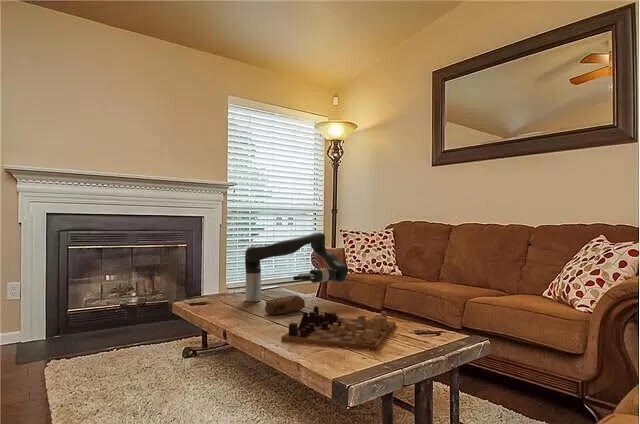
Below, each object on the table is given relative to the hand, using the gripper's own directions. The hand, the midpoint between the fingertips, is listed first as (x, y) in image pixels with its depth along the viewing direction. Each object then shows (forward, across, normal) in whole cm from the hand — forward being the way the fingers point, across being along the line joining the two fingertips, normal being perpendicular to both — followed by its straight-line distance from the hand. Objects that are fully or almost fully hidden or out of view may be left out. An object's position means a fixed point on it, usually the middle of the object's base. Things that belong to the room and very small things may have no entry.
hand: (294, 278), depth 234 cm
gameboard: (+8, +50, +19) cm, 54 cm away
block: (-4, 0, +14) cm, 14 cm away
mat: (+3, -5, +18) cm, 19 cm away
